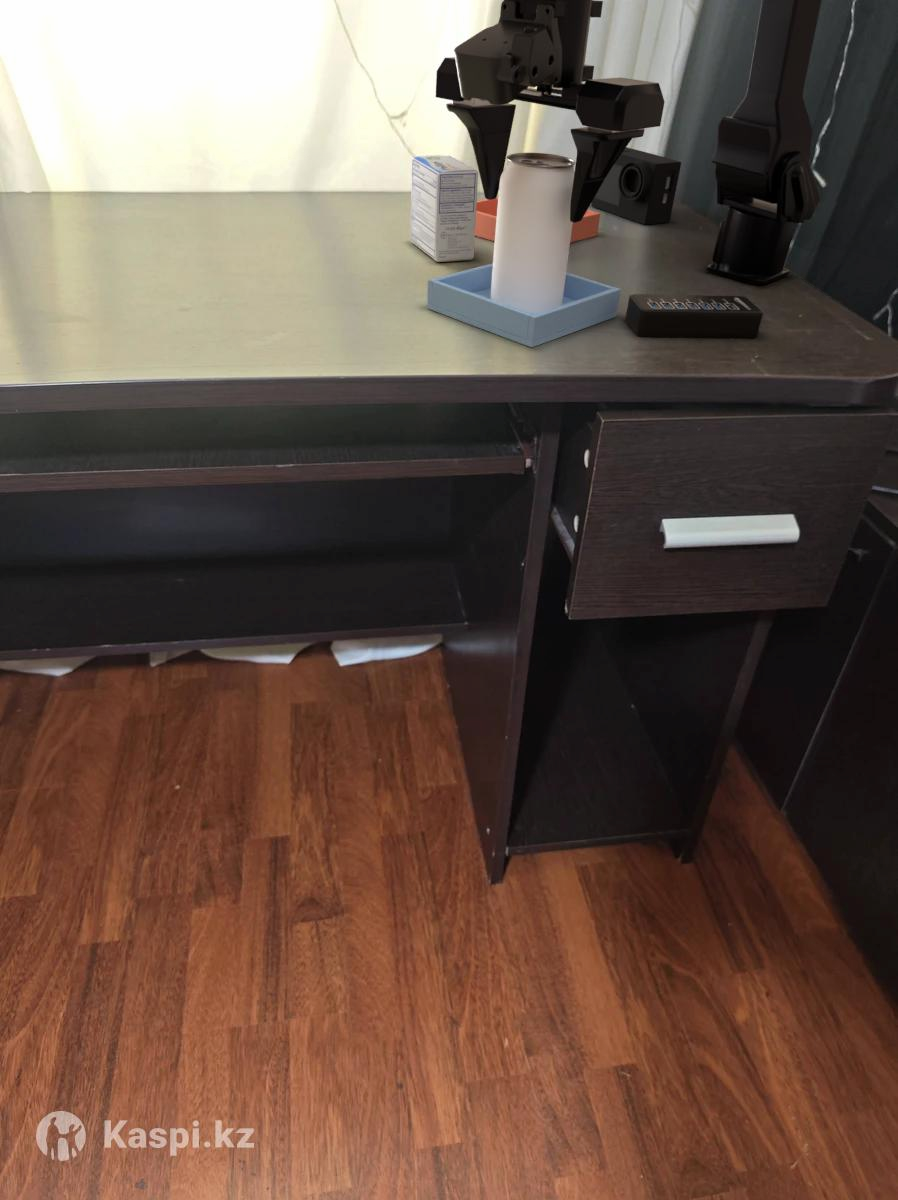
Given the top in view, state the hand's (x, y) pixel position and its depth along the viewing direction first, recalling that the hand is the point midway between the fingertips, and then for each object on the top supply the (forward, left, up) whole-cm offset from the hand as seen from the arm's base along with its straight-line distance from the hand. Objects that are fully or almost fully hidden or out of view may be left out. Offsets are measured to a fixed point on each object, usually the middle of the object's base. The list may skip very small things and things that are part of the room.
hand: (531, 210), depth 72 cm
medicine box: (+18, -8, -9) cm, 22 cm away
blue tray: (0, 0, -9) cm, 9 cm away
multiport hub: (-12, -9, -9) cm, 18 cm away
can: (0, 0, -8) cm, 8 cm away
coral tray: (+18, -22, -9) cm, 30 cm away
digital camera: (+16, -40, -9) cm, 44 cm away
